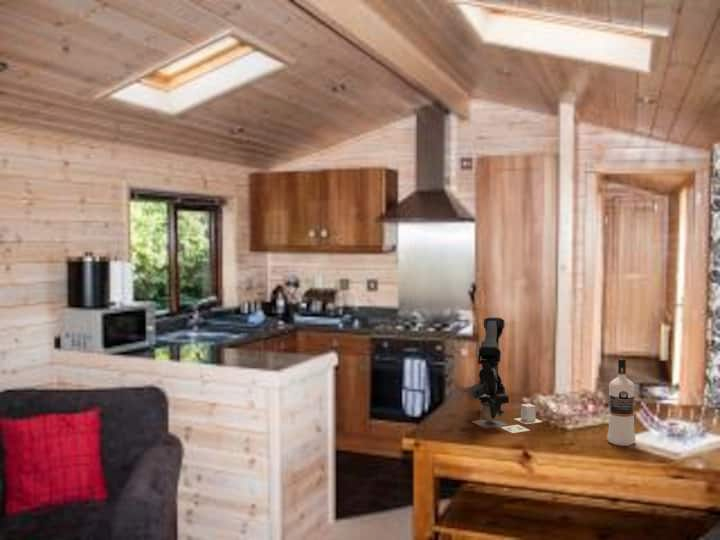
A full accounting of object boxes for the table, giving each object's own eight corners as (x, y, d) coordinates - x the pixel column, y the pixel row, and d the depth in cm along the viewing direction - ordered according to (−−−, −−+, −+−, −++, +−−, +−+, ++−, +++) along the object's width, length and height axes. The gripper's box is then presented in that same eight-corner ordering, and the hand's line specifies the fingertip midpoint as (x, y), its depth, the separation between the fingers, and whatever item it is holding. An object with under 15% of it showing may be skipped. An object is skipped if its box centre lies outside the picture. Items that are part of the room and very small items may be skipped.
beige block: (520, 419, 263) (520, 404, 263) (529, 418, 265) (529, 403, 265) (527, 422, 260) (527, 407, 259) (535, 420, 261) (535, 405, 261)
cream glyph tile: (500, 427, 254) (500, 427, 254) (517, 425, 257) (517, 424, 257) (512, 433, 247) (512, 433, 247) (530, 431, 250) (530, 430, 250)
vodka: (635, 439, 238) (636, 356, 236) (635, 447, 229) (636, 362, 227) (607, 437, 241) (608, 355, 239) (607, 445, 233) (607, 360, 231)
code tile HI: (513, 419, 265) (513, 418, 265) (530, 417, 268) (530, 416, 268) (525, 425, 257) (525, 424, 257) (542, 422, 260) (542, 421, 260)
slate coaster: (471, 422, 262) (471, 421, 262) (493, 419, 266) (493, 418, 266) (485, 429, 253) (485, 428, 253) (507, 425, 256) (507, 424, 256)
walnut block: (480, 418, 260) (480, 403, 260) (491, 416, 262) (491, 401, 262) (487, 421, 256) (487, 406, 255) (498, 420, 258) (498, 405, 257)
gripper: (458, 374, 264) (459, 412, 265) (484, 384, 246) (484, 425, 247) (483, 371, 268) (483, 409, 269) (509, 381, 250) (509, 421, 252)
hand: (489, 416), depth 259 cm, fingers closed on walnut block, 5 cm apart
